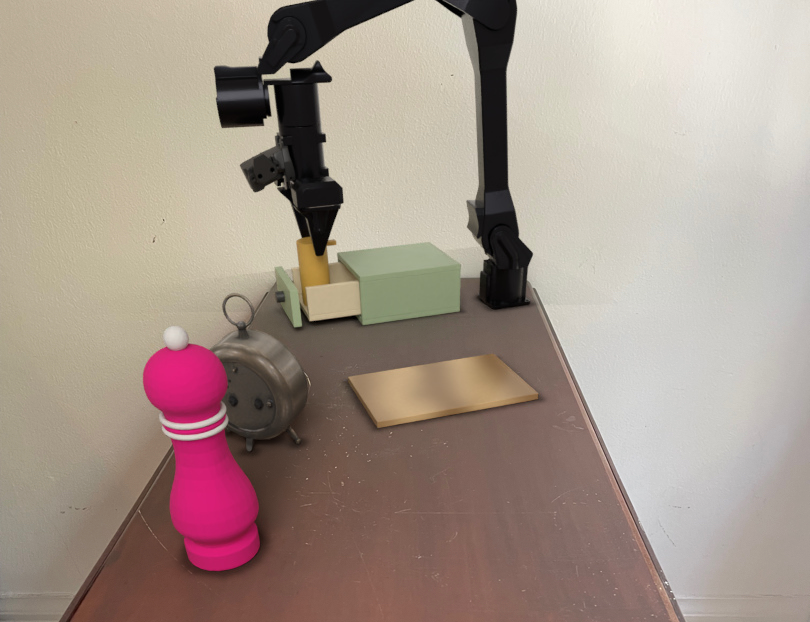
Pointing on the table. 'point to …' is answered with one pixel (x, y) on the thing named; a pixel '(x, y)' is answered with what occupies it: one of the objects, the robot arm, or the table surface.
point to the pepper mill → (202, 455)
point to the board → (439, 389)
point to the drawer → (319, 295)
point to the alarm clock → (260, 382)
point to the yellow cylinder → (312, 265)
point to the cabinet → (404, 281)
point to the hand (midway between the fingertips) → (312, 247)
